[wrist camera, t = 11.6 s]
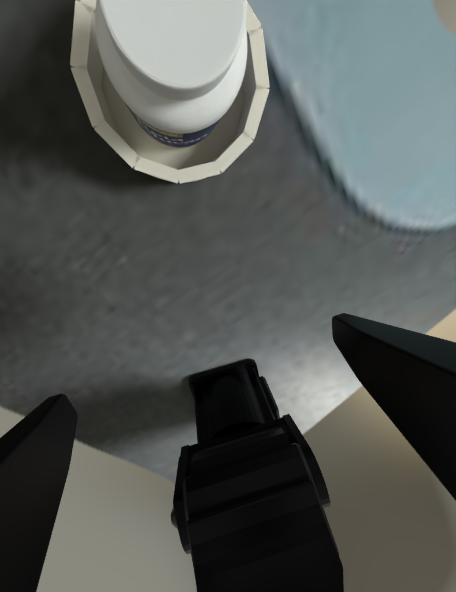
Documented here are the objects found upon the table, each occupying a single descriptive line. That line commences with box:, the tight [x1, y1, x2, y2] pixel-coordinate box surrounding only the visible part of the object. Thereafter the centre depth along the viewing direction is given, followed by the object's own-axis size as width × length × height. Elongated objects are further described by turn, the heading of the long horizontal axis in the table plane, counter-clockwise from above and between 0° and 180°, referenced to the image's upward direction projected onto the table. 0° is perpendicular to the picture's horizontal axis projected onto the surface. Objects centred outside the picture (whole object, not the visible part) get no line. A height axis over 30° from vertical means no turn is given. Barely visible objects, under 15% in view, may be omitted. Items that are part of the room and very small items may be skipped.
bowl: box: [70, 0, 270, 184], centre depth 15 cm, size 10×10×4 cm
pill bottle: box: [95, 0, 247, 148], centre depth 11 cm, size 5×5×10 cm
